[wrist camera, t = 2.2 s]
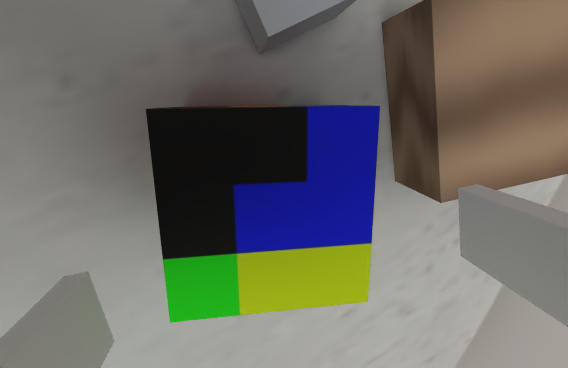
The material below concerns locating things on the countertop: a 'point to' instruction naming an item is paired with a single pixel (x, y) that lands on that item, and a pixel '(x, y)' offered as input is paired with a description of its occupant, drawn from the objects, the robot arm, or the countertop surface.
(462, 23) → the walnut block
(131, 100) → the countertop surface
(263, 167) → the puzzle toy
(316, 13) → the slate block
